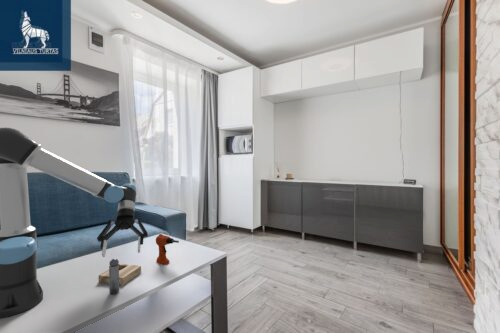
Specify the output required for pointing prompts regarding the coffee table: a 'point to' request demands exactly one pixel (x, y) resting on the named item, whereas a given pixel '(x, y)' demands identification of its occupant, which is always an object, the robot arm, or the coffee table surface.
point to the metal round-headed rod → (114, 277)
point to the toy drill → (163, 248)
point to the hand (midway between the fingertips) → (121, 253)
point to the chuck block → (122, 273)
